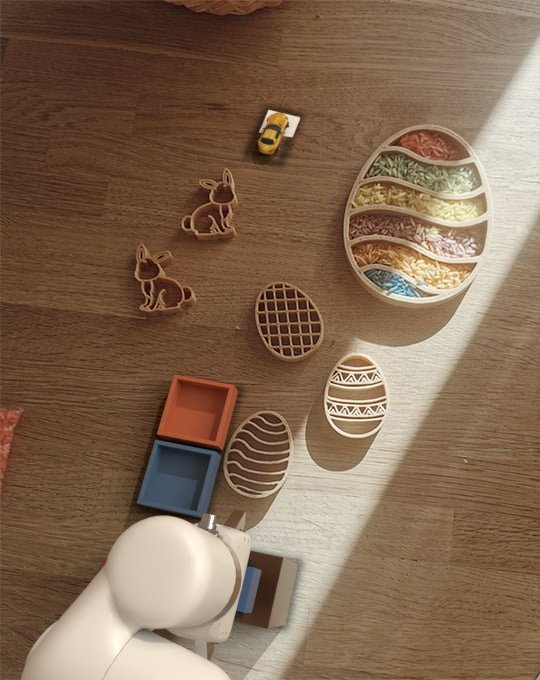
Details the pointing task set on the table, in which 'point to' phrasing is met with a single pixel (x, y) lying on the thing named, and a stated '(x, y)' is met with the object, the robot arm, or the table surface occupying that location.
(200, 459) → the slate bin
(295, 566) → the stand
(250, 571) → the blue cube
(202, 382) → the terracotta bin
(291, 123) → the toy car
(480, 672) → the table surface
